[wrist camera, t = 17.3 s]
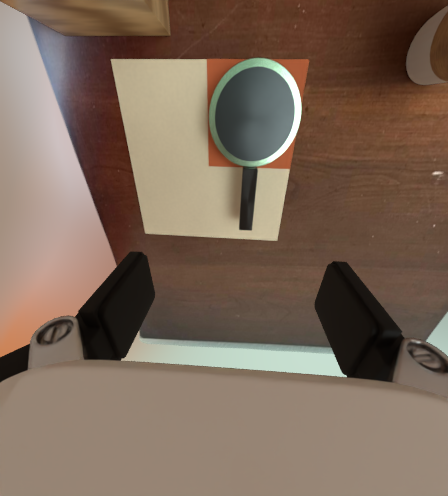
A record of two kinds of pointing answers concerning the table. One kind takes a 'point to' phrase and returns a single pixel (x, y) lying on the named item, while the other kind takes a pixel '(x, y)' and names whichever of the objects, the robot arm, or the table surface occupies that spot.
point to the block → (99, 16)
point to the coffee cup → (430, 51)
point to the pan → (254, 121)
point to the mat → (192, 150)
